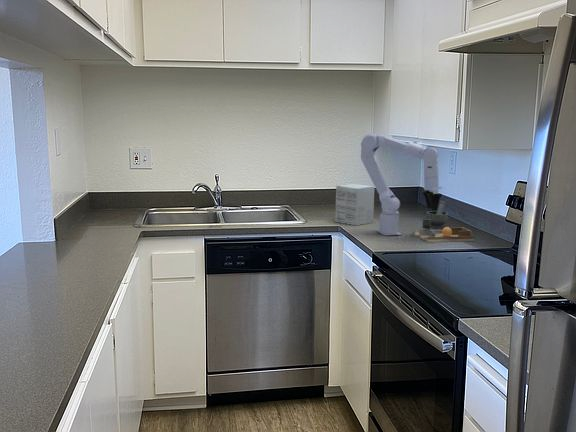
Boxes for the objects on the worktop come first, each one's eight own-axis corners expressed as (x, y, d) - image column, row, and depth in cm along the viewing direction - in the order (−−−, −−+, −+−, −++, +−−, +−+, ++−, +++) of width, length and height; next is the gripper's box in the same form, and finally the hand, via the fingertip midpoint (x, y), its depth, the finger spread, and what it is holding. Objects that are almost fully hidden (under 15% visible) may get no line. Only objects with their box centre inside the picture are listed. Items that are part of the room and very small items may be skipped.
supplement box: (351, 218, 284) (353, 183, 281) (373, 222, 275) (375, 186, 272) (334, 221, 275) (335, 185, 272) (356, 226, 266) (357, 188, 263)
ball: (440, 235, 243) (440, 226, 242) (448, 235, 244) (449, 226, 243) (444, 237, 239) (444, 228, 239) (453, 237, 240) (453, 227, 239)
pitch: (413, 234, 250) (413, 224, 249) (456, 233, 254) (456, 224, 253) (428, 242, 235) (428, 232, 234) (473, 241, 238) (474, 231, 237)
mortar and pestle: (441, 230, 258) (443, 204, 256) (422, 227, 264) (423, 201, 262) (452, 227, 267) (453, 201, 265) (433, 224, 273) (435, 199, 271)
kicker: (420, 232, 248) (421, 218, 247) (428, 232, 248) (429, 218, 247) (429, 237, 239) (430, 222, 238) (437, 236, 239) (438, 222, 238)
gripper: (445, 177, 232) (446, 210, 234) (436, 174, 247) (437, 206, 249) (427, 178, 233) (429, 212, 235) (419, 176, 247) (421, 207, 249)
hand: (432, 209), depth 242 cm, fingers open, 7 cm apart
